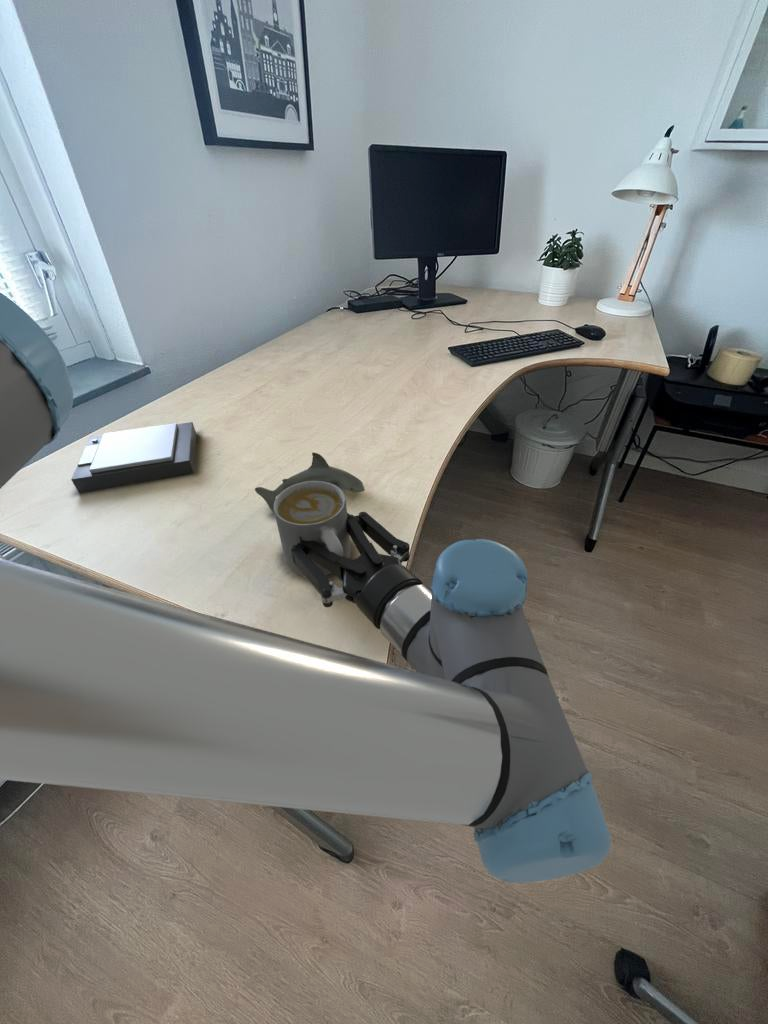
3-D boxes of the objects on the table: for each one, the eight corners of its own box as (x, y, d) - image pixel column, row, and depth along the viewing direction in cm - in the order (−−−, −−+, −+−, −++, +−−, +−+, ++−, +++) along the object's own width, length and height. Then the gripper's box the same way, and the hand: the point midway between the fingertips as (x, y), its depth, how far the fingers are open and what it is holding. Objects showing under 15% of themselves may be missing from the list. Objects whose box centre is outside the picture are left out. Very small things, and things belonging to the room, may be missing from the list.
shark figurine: (358, 523, 71) (355, 486, 66) (261, 516, 73) (251, 480, 68) (372, 474, 82) (370, 439, 77) (287, 468, 84) (280, 434, 79)
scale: (78, 493, 79) (68, 475, 77) (96, 449, 91) (88, 433, 88) (193, 473, 83) (187, 456, 81) (196, 434, 95) (191, 418, 93)
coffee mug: (280, 539, 68) (268, 489, 62) (341, 525, 71) (335, 474, 64) (296, 603, 59) (283, 551, 52) (365, 583, 61) (362, 531, 55)
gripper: (341, 668, 49) (253, 553, 63) (454, 591, 57) (353, 505, 71) (335, 628, 44) (241, 513, 58) (459, 551, 52) (350, 467, 66)
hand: (303, 509), depth 65 cm, fingers closed on coffee mug, 5 cm apart
